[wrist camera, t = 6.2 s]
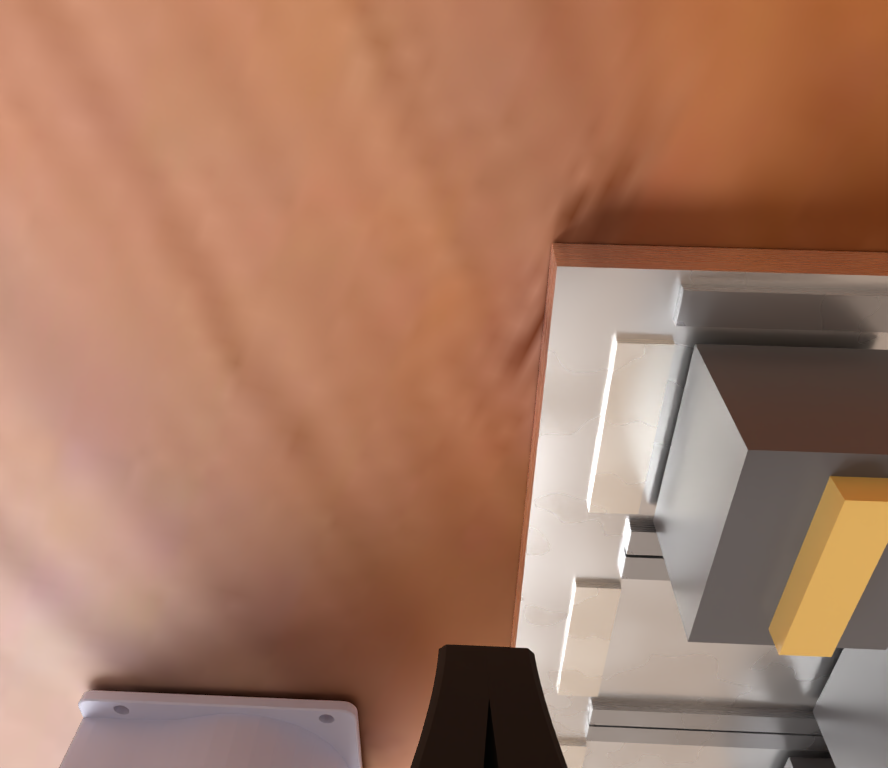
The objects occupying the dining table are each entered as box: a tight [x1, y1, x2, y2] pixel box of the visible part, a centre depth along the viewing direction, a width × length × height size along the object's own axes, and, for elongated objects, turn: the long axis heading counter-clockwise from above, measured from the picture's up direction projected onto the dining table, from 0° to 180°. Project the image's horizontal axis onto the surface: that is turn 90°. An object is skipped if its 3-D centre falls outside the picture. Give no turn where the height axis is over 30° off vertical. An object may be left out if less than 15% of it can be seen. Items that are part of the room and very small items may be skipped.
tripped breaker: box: [653, 344, 888, 657], centre depth 15 cm, size 4×5×4 cm
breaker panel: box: [510, 243, 888, 768], centre depth 21 cm, size 16×23×2 cm
